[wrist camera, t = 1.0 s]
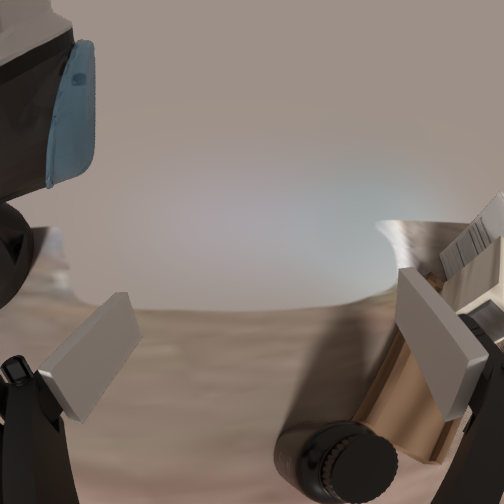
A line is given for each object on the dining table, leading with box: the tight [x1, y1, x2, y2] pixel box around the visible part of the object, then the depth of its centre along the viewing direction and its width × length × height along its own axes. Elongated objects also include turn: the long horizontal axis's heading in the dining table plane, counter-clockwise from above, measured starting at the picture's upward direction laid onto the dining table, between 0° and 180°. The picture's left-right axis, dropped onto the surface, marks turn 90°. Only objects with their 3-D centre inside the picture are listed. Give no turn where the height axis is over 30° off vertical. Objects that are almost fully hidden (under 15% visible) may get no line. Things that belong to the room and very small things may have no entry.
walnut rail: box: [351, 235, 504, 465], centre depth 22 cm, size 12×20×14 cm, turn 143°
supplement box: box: [439, 192, 504, 280], centre depth 30 cm, size 9×9×15 cm
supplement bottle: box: [274, 420, 398, 504], centre depth 18 cm, size 7×7×12 cm
